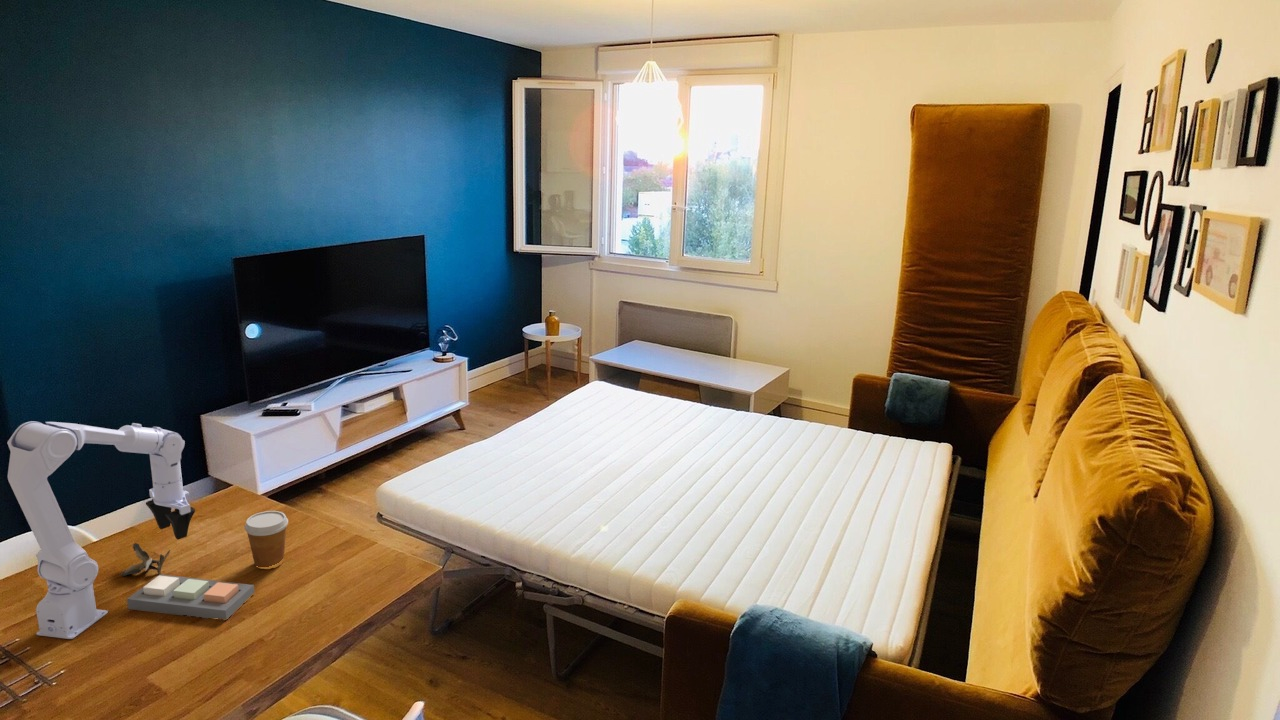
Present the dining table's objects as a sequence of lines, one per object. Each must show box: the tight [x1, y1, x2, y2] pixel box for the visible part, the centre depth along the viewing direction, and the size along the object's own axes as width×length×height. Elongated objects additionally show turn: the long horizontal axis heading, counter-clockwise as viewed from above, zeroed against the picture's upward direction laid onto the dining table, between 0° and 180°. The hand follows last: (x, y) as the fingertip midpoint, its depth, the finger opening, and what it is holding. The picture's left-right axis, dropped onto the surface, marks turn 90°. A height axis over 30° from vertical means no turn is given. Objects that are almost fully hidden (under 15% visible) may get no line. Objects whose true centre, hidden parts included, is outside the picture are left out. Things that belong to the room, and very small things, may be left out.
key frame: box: [126, 574, 255, 620], centre depth 164 cm, size 10×23×2 cm, turn 85°
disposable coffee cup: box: [244, 510, 289, 567], centre depth 179 cm, size 10×10×12 cm
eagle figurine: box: [121, 542, 171, 577], centre depth 173 cm, size 8×7×9 cm
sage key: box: [173, 579, 209, 600], centre depth 163 cm, size 5×5×3 cm
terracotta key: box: [204, 582, 239, 604], centre depth 163 cm, size 5×5×3 cm
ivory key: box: [142, 575, 180, 597], centre depth 164 cm, size 5×5×3 cm
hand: (173, 532), depth 173 cm, fingers open, 7 cm apart
